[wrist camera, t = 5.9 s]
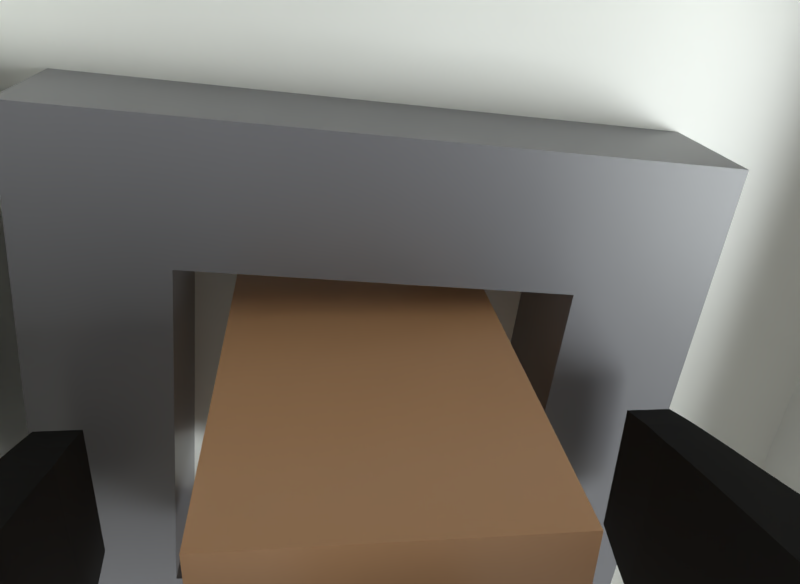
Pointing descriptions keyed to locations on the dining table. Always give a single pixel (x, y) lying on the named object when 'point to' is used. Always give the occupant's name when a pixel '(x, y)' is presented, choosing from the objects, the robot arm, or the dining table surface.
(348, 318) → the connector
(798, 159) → the walled box
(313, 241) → the inlet socket
